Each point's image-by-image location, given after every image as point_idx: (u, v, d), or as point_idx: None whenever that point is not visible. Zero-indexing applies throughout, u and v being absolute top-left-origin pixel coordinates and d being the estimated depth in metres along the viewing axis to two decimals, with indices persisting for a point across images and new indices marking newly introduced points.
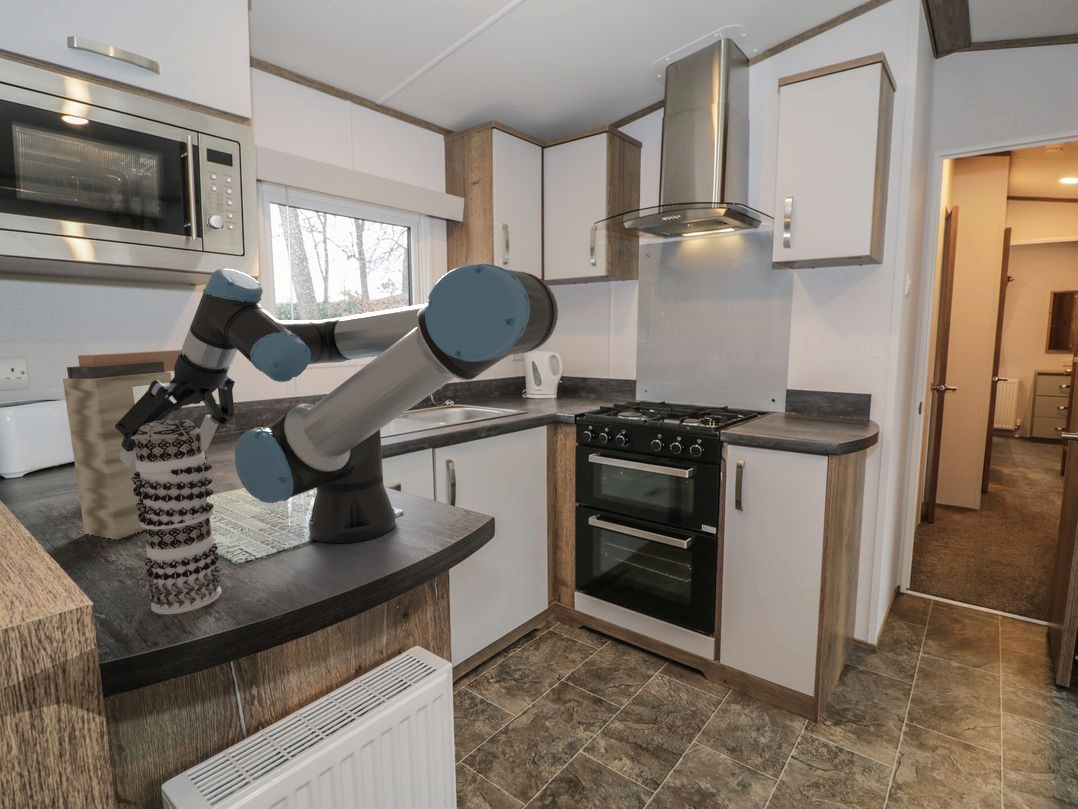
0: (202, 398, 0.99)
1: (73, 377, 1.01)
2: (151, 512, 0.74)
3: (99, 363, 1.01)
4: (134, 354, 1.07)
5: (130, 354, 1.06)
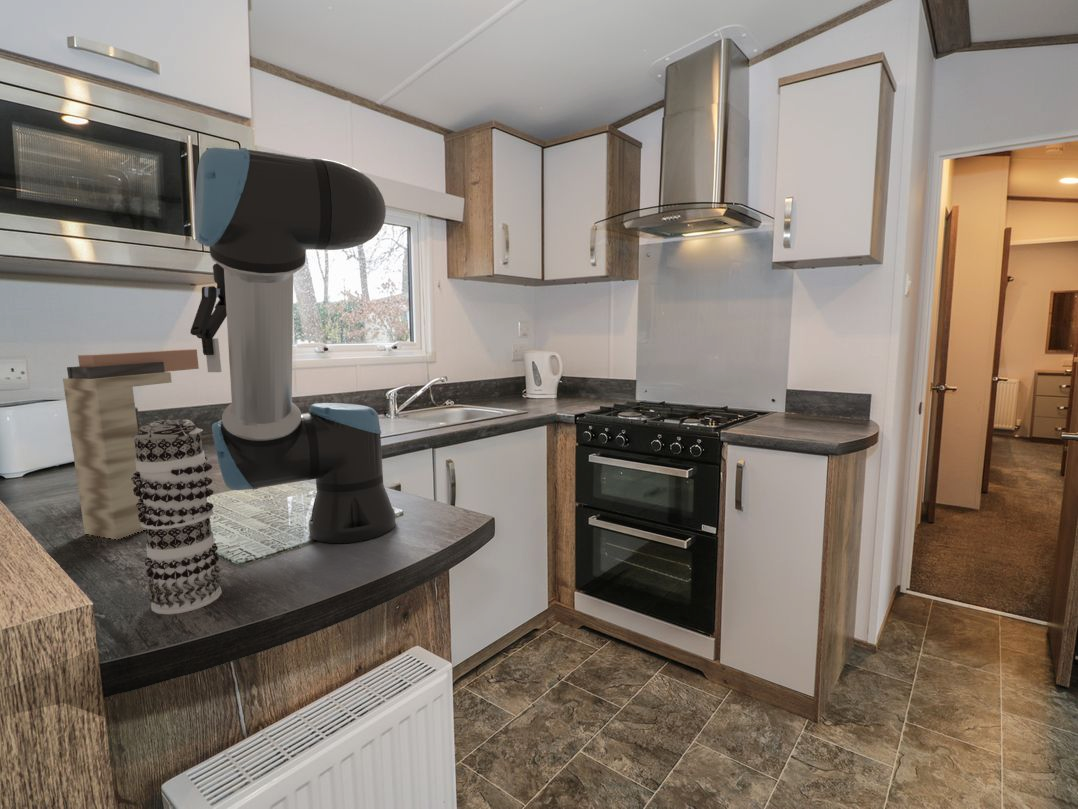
0: None
1: (73, 377, 1.01)
2: (151, 512, 0.74)
3: (99, 363, 1.01)
4: (134, 354, 1.07)
5: (130, 354, 1.06)
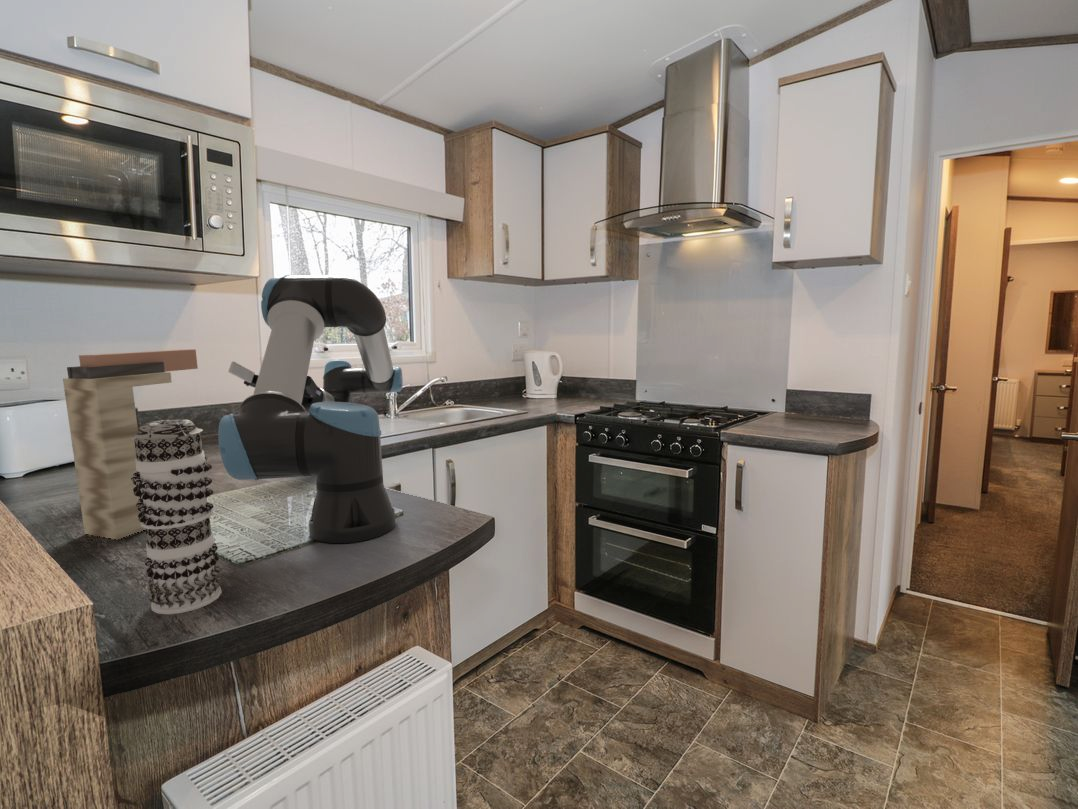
0: None
1: (73, 377, 1.01)
2: (151, 512, 0.74)
3: (100, 363, 1.01)
4: (135, 354, 1.07)
5: (131, 354, 1.06)
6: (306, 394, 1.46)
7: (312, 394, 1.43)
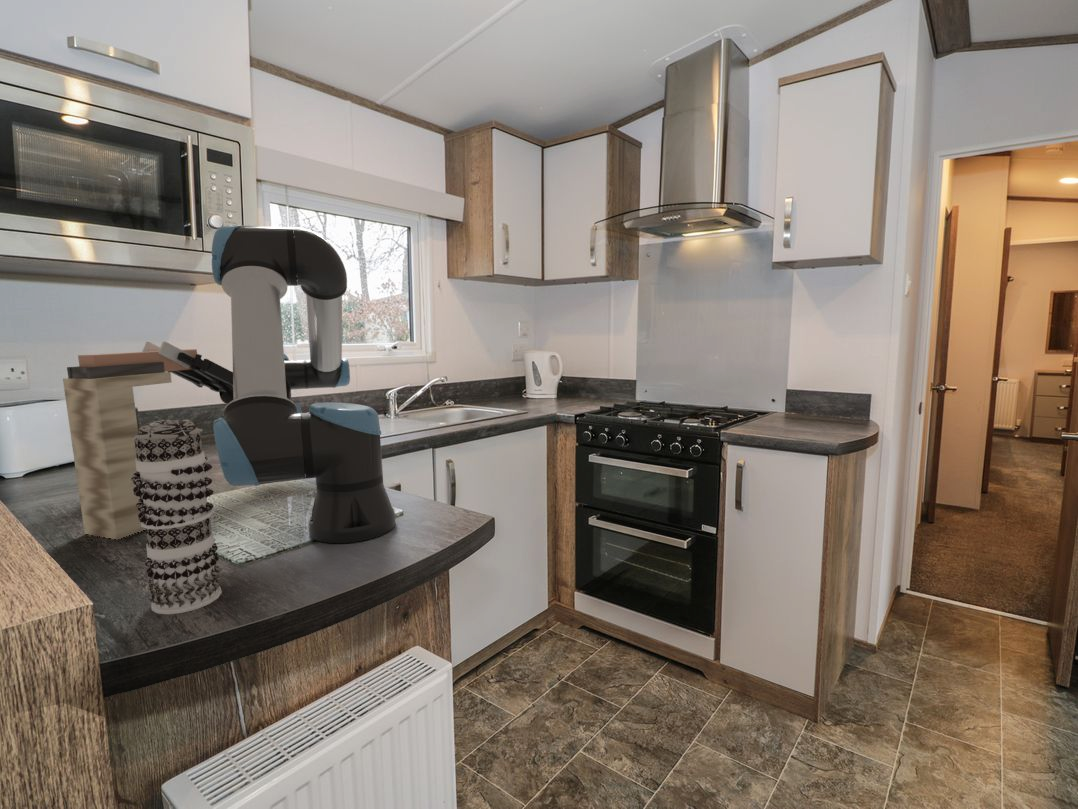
0: None
1: (73, 377, 1.01)
2: (151, 512, 0.74)
3: (99, 363, 1.01)
4: (134, 354, 1.07)
5: (130, 354, 1.06)
6: (231, 385, 1.25)
7: (228, 383, 1.22)
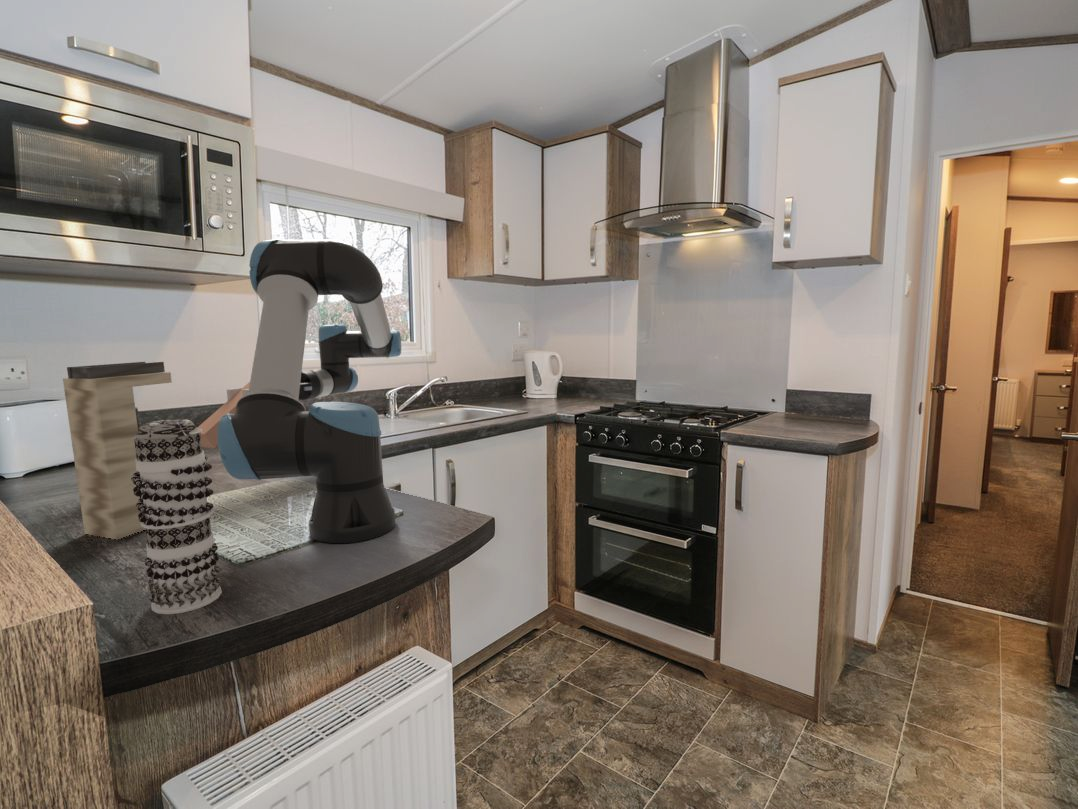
0: None
1: (73, 377, 1.01)
2: (151, 512, 0.74)
3: (211, 436, 1.23)
4: (228, 413, 1.26)
5: None
6: None
7: (300, 394, 1.42)
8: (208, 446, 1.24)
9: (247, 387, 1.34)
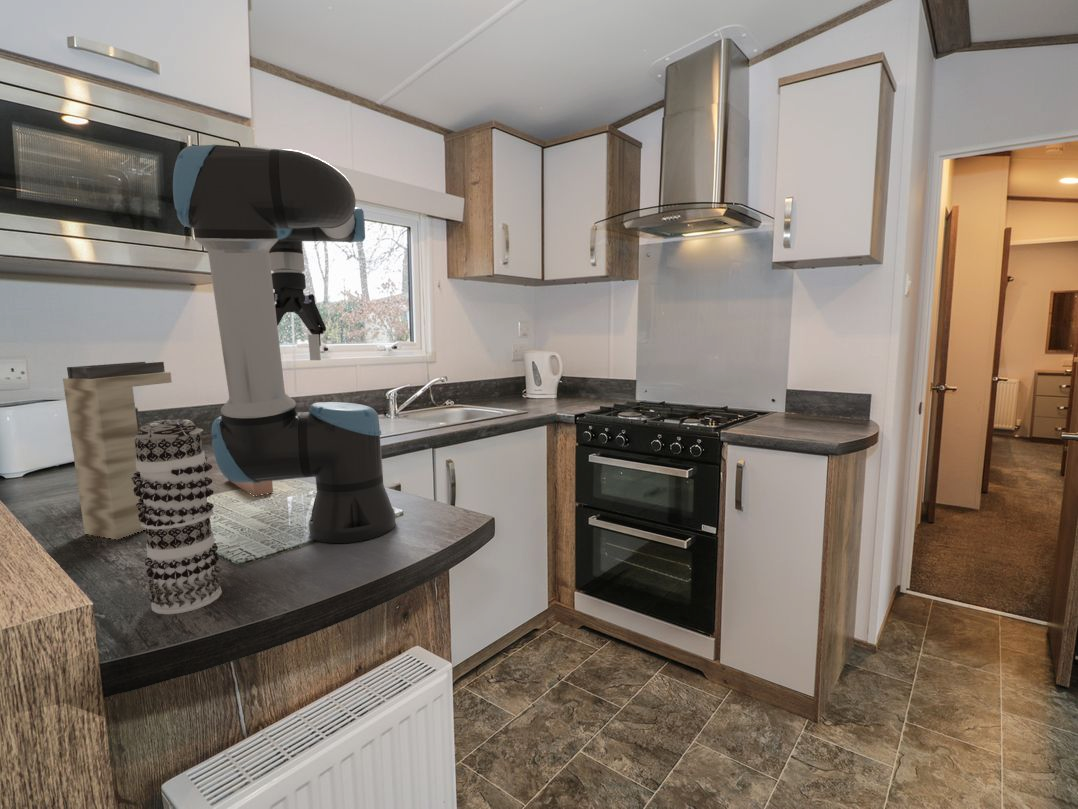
0: (299, 307, 1.38)
1: (73, 377, 1.01)
2: (151, 512, 0.74)
3: None
4: None
5: None
6: None
7: None
8: None
9: None
